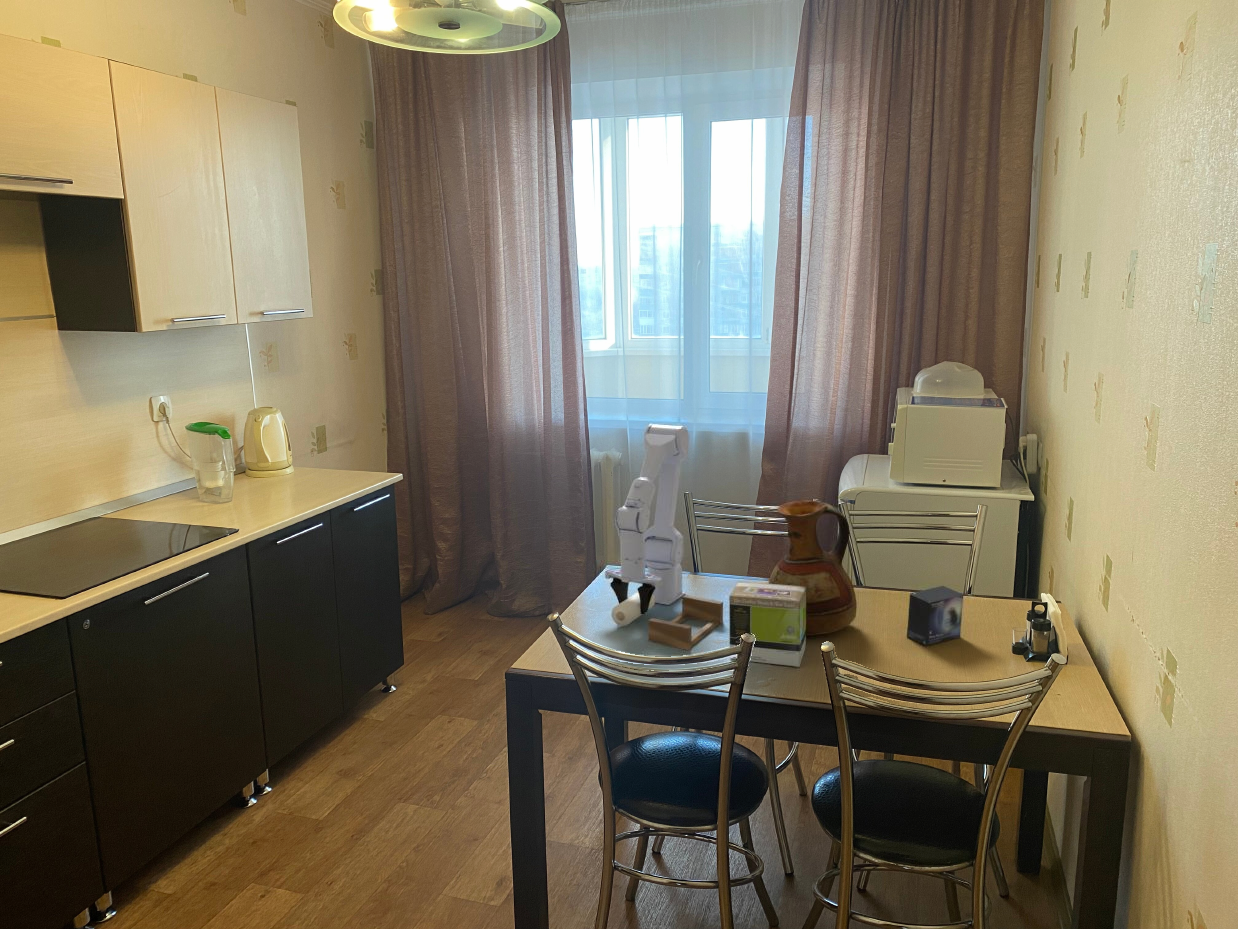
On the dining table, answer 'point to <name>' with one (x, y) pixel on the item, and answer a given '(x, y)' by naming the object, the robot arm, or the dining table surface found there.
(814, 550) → the ceramic pitcher
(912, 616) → the small box
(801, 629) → the tea box
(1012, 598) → the dining table surface
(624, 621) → the cylinder
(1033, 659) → the dining table surface
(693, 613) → the holder
